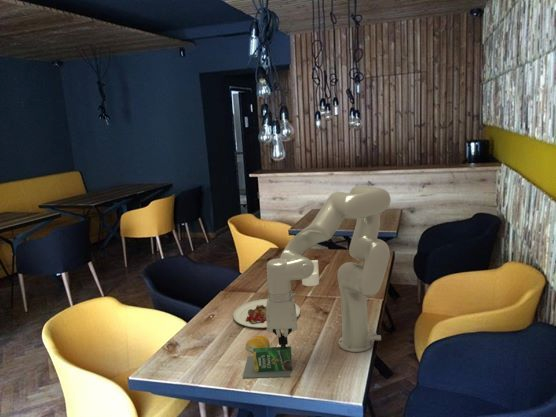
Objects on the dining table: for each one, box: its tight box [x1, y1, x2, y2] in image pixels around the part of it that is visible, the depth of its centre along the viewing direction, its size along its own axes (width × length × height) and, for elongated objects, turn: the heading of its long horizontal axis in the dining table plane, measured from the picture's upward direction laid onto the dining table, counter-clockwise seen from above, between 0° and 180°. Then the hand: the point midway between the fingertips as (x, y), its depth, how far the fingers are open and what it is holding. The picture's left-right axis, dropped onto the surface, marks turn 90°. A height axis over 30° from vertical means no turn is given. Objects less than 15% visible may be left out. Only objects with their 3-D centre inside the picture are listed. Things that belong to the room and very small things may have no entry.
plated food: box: [232, 298, 301, 329], centre depth 197 cm, size 30×30×3 cm
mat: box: [242, 355, 292, 380], centre depth 155 cm, size 16×14×1 cm
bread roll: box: [245, 335, 271, 353], centre depth 169 cm, size 8×9×4 cm
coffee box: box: [252, 345, 293, 372], centre depth 151 cm, size 8×3×13 cm
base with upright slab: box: [301, 259, 320, 287], centre depth 232 cm, size 9×9×12 cm
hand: (283, 346), depth 151 cm, fingers closed
